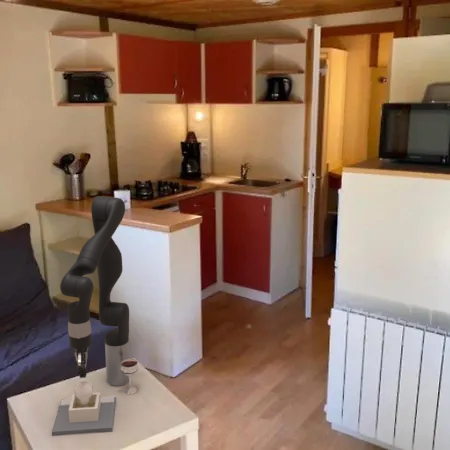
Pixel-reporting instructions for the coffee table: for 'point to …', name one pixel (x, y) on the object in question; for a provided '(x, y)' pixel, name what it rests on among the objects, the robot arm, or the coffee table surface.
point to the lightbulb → (83, 393)
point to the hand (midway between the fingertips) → (83, 376)
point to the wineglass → (129, 372)
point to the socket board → (85, 416)
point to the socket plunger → (89, 405)
